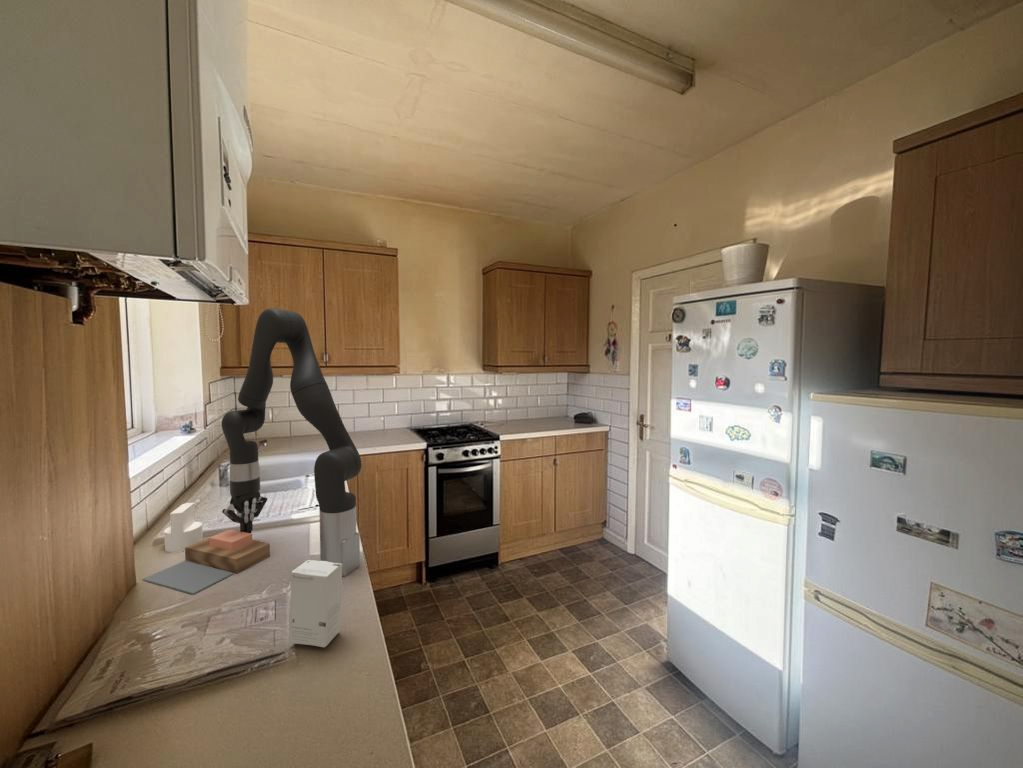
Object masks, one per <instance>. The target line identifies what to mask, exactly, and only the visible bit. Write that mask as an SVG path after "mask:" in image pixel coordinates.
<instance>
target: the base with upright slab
mask: <svg viewBox="0 0 1023 768" xmlns="http://www.w3.org/2000/svg"><path fill="white" fill-rule="evenodd" d="M195 504H196V503H195V502H187V503H182V504H180V505H179V506H178V507H176V509H174V510H173V511H171V512H170V514H169V519H170V520H169V522H170V523H169V524H170V526H168V527H167V528H165V529H164V531H163V533H164V535H163V536H164V551H165V552H166V553H167V552H168V553H180V552H185V547H187V546H190V545H192V544H195V543H197V542H200V541H202V540H204V538H203V535H204V534H203V523H202V522H201V521H196V505H195Z"/></svg>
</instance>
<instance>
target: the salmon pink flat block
mask: <svg viewBox="0 0 1023 768" xmlns="http://www.w3.org/2000/svg"><path fill="white" fill-rule="evenodd" d="M208 538H209V546H212V547H217V548H221V549H226V550H230V551H233V550H236V549H238V548H240V547H242V546H244V545H247V544H249V543H251V542H252V540H253V533H245V532H240V530H235V529H227V530H224V531H222V532H220V533H218V534H215V535H212V536H210V537H208Z"/></svg>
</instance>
